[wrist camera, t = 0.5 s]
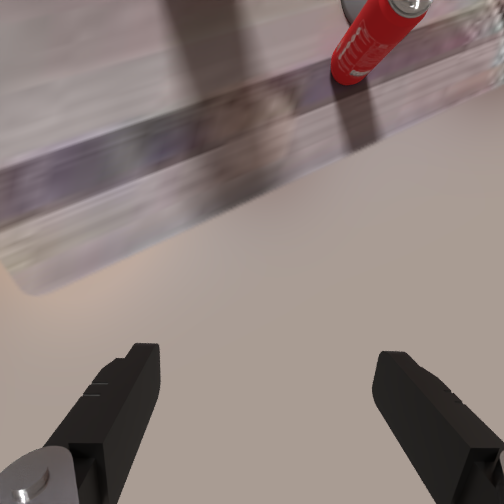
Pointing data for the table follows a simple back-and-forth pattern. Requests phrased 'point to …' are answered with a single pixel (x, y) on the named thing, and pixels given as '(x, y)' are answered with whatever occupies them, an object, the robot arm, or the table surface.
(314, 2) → the table surface
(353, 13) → the rubber mat
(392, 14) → the beverage can
